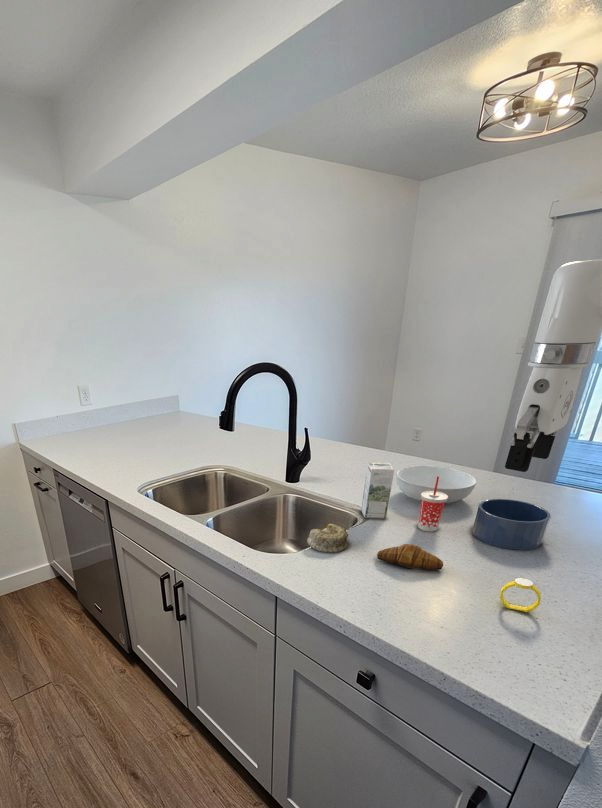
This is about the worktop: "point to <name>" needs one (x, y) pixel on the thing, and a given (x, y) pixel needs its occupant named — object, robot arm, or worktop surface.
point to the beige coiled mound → (328, 539)
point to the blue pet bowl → (511, 523)
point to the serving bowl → (425, 478)
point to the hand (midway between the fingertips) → (526, 463)
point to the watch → (525, 585)
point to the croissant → (410, 557)
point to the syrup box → (377, 490)
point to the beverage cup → (431, 509)
